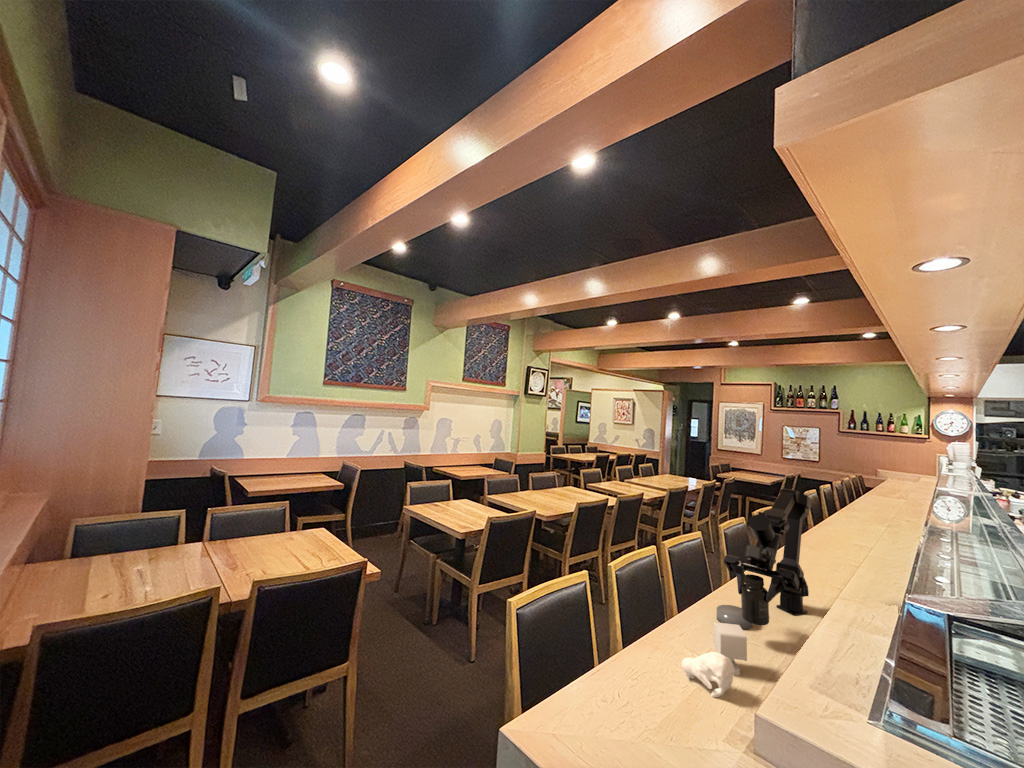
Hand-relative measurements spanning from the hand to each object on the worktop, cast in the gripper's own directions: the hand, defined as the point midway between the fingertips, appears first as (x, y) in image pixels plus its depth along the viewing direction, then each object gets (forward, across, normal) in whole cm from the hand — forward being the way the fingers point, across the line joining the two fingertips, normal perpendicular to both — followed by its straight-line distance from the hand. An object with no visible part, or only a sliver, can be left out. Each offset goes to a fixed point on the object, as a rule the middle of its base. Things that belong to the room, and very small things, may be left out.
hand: (752, 597), depth 120 cm
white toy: (+30, -1, -11) cm, 32 cm away
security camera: (+22, 0, -3) cm, 22 cm away
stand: (+2, -9, +17) cm, 19 cm away
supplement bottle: (+4, 0, +6) cm, 7 cm away
